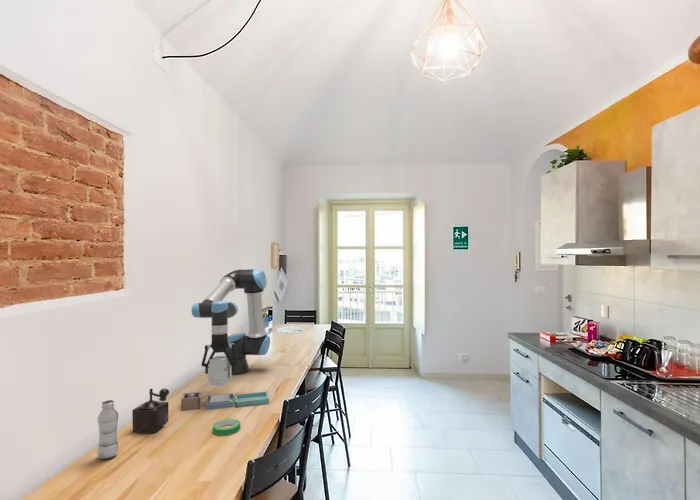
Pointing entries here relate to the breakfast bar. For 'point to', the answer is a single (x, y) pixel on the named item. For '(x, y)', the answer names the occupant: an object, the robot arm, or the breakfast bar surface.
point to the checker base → (219, 405)
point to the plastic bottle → (107, 431)
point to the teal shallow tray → (251, 399)
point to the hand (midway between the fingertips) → (219, 379)
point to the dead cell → (191, 395)
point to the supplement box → (219, 371)
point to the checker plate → (220, 398)
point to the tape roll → (226, 431)
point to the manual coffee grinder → (151, 414)
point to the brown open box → (191, 402)
